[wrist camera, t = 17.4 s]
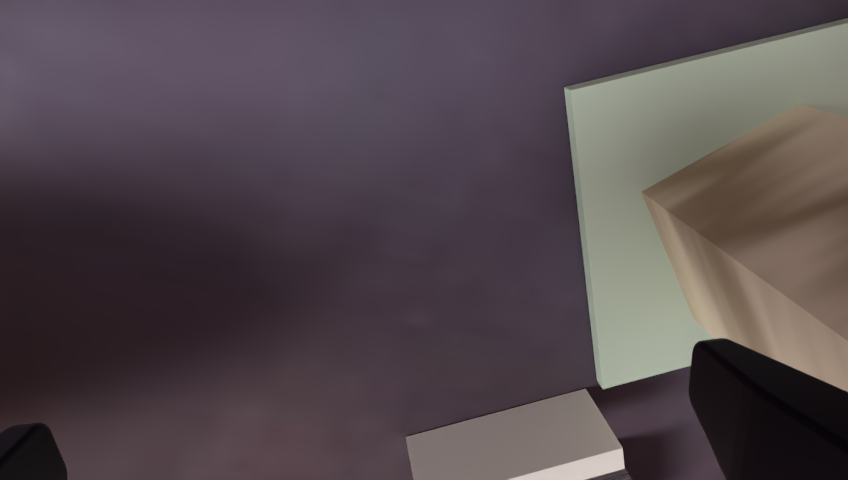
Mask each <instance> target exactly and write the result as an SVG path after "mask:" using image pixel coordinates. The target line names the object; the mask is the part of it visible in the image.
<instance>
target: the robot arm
mask: <svg viewBox="0 0 848 480" xmlns="http://www.w3.org/2000/svg"><path fill="white" fill-rule="evenodd" d="M689 397H690V401H691V405H692V407H693V409H694V411H695V414H696V416H697V418H698V420H699V422H700V425H701V427H702V429H703V431H704V433H705V435H706V438H707V440H708V442H709V444H710V446H711V449H712V451H713V453H714V455H715V457H716V460H717V462H718V464H719V466H720V468H721V470H722V473H723V475H724V477H725V479H726V480H848V392H847V391H845V390H842V389H840V388H838V387H836V386H833V385H831V384H829V383H827V382H824V381H822V380H820V379H817V378H815V377H813V376H811V375H808V374H806V373H804V372H802V371H799V370H797V369H795V368H793V367H790V366H788V365H786V364H784V363H781V362H779V361H777V360H774V359H772V358H770V357H768V356H765V355H763V354H761V353H759V352H756V351H754V350H752V349H750V348H747V347H745V346H743V345H741V344H738V343H736V342H734V341H731V340H729V339H726V338H718V339H710V340H702V341H698V342H697V343H696V344H695V345H694V347H693V351H692V360H691V370H690V379H689ZM0 480H67V470H66V466H65V463H64V461H63V459H62V456H61V454H60V452H59V449H58V447H57V444H56V442H55V440H54V437H53V435H52V433H51V431H50V429H49V428H48V427H47V426H46V425H45V424H43V423H32V424H24V425H16V426H12V427H9V428H8V429H6V430H4V431H3V432H1V433H0Z"/></svg>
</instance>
